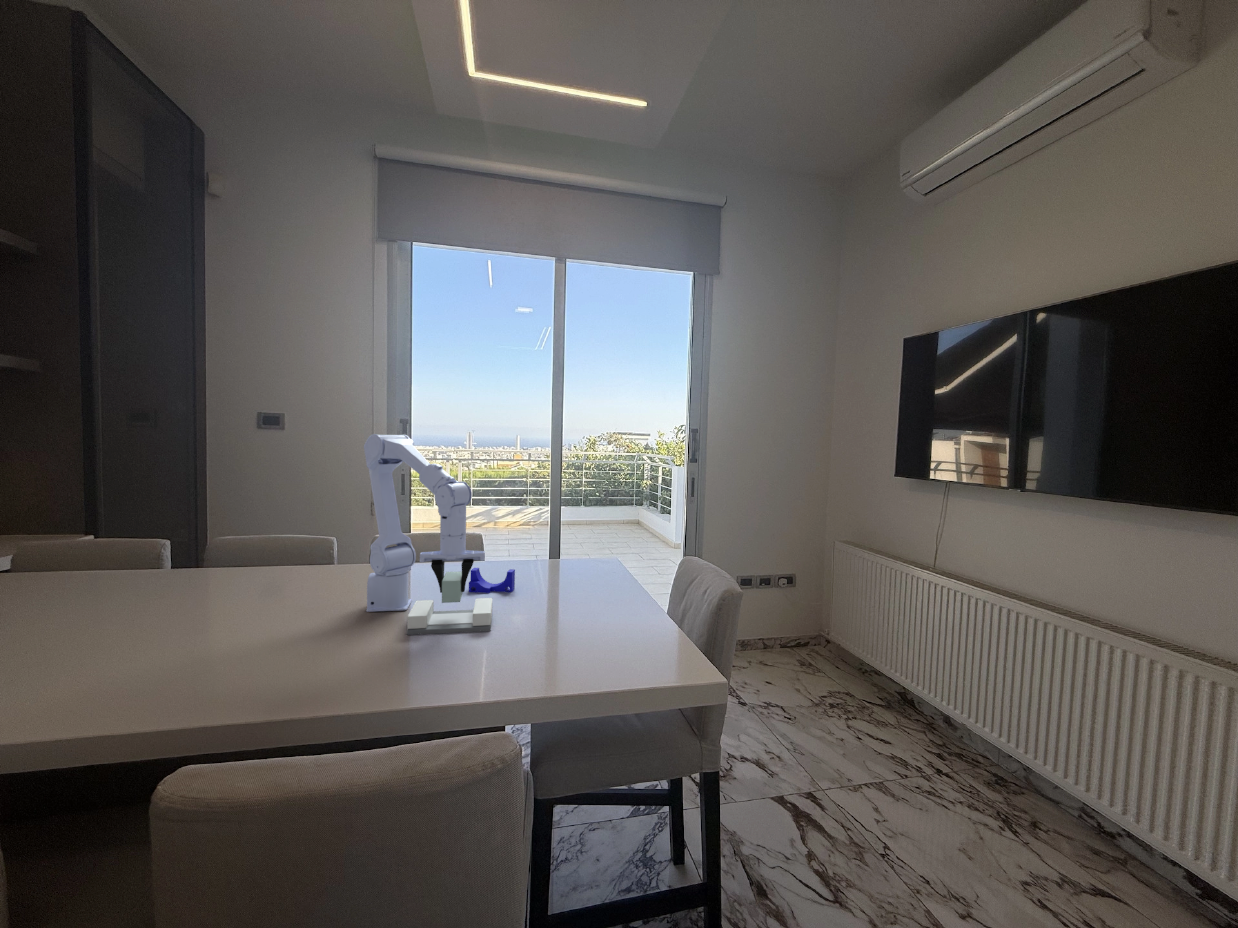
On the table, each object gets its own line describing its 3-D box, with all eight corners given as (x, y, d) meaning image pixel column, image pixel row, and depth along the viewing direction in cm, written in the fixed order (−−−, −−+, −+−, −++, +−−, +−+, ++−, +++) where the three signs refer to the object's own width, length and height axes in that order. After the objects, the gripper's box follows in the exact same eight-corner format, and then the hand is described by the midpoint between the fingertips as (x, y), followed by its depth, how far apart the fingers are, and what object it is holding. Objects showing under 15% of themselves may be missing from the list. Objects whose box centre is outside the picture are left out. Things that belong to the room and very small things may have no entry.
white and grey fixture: (407, 634, 116) (407, 617, 116) (416, 616, 128) (416, 599, 127) (490, 630, 120) (490, 613, 119) (492, 612, 131) (492, 597, 131)
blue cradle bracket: (468, 592, 148) (468, 571, 147) (473, 587, 152) (474, 567, 152) (510, 594, 147) (510, 573, 147) (514, 589, 152) (514, 569, 151)
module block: (441, 602, 119) (441, 581, 119) (445, 592, 127) (445, 571, 127) (460, 602, 120) (460, 580, 120) (463, 591, 128) (463, 571, 128)
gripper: (417, 537, 117) (417, 597, 118) (484, 536, 120) (483, 595, 121) (422, 531, 124) (422, 588, 125) (485, 531, 127) (485, 586, 128)
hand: (452, 591), depth 123 cm, fingers closed on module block, 4 cm apart
